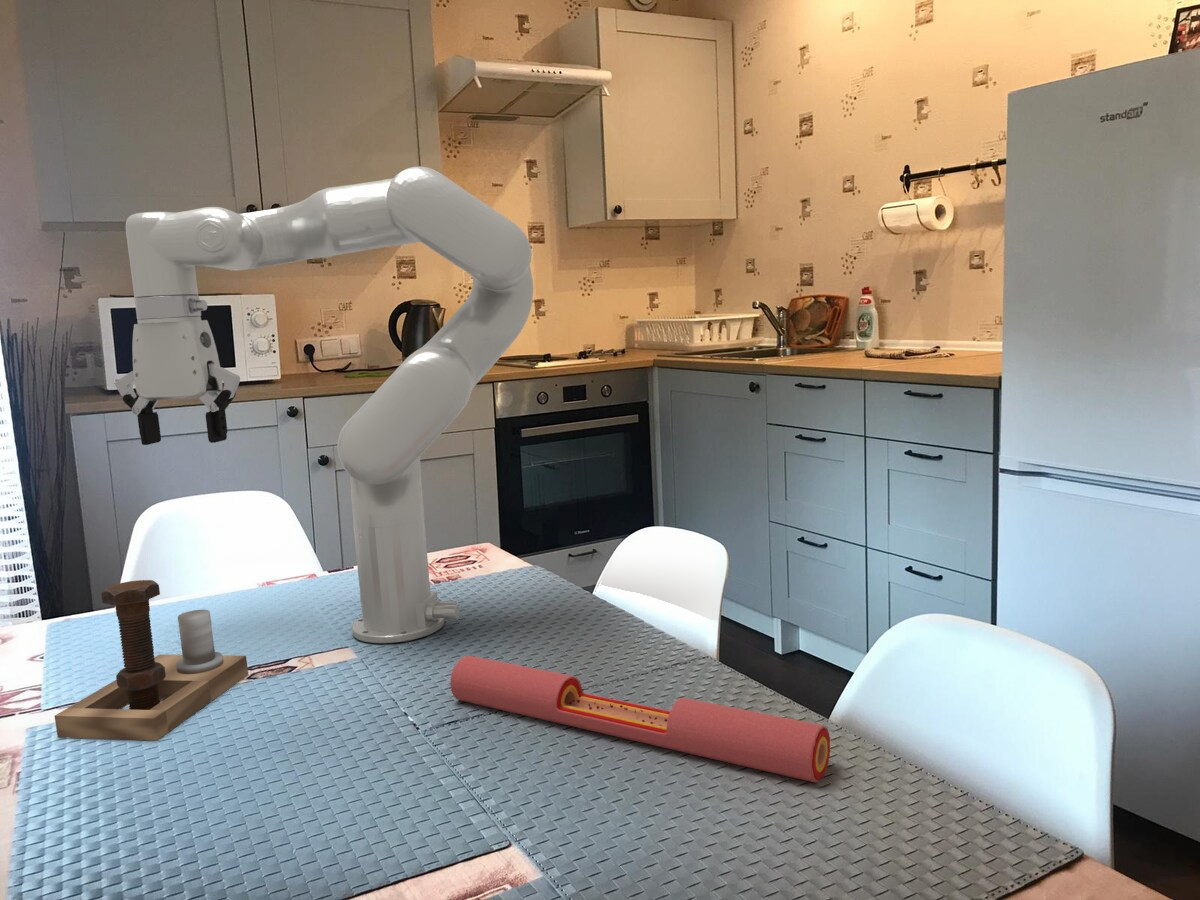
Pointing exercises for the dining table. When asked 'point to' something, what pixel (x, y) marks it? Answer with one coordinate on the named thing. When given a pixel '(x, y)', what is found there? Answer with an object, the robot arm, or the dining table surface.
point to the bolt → (136, 642)
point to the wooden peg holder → (160, 690)
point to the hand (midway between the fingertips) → (184, 442)
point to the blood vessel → (650, 719)
